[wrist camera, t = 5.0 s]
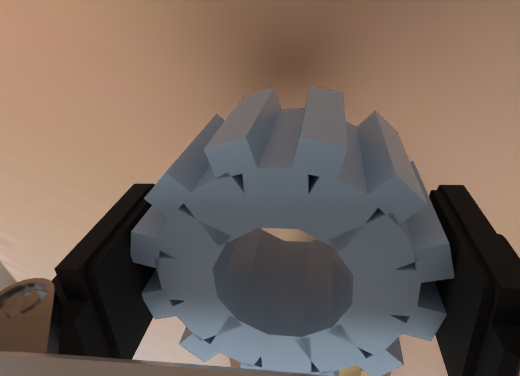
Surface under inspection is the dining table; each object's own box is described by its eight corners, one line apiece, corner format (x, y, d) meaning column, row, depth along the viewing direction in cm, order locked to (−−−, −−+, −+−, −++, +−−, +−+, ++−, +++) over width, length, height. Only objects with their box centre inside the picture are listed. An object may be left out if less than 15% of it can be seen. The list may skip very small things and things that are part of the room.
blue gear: (432, 81, 10) (483, 135, 7) (404, 294, 13) (429, 403, 10) (168, 90, 11) (95, 138, 8) (202, 281, 15) (162, 375, 11)
